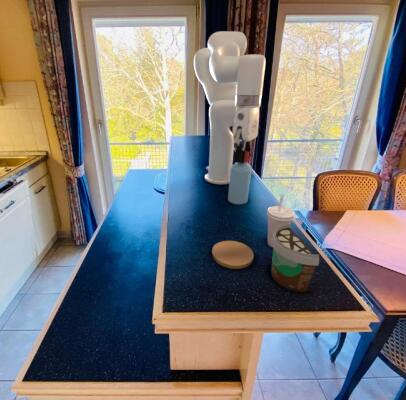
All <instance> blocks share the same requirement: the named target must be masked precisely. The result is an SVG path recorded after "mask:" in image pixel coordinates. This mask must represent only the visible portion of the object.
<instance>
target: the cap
mask: <svg viewBox="0 0 406 400" xmlns="http://www.w3.org/2000/svg"><path fill="white" fill-rule="evenodd" d="M244 151H246V150H244ZM248 159H249V151H246V153H245V162H247V163H249V160H250V159H249V160H248Z"/></svg>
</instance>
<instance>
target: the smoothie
mask: <svg viewBox="0 0 406 400" xmlns="http://www.w3.org/2000/svg"><path fill="white" fill-rule="evenodd" d="M283 199H284V195H283V194H282V195H280V197H279V204H278V205H272V206H270V207H268V208H267V211H266V214H267V245H268V246H269V247H271V248H273V247H272V244H271V238H272V236H273V234H274V232H275V231H276V230H277V228H279V227H280V226H283V225H287V224H291V223H292V221H293V220H294V219H295V212H294V211H293V210H292V208H289V207H287V206H286V207H285V206H282V205H283ZM291 225H292V224H291Z"/></svg>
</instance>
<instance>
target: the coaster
mask: <svg viewBox="0 0 406 400" xmlns="http://www.w3.org/2000/svg"><path fill="white" fill-rule="evenodd" d="M254 256H255V254H254V252H253V250H252V249H251V248H250V246H248V245H246V244H245V243H242V242H239V241H236V240H222V241H219V242H217V243H215V244H214V245H213V247H212V249H211V257H212V259H213V260H214V262H215V263H216V264H218V265H220V266H222V267H224V268H227V269H232V270H233V269H234V270H239V269H245V268H247V267H249V266H251V265H252V264H253V261H254V258H255V257H254Z"/></svg>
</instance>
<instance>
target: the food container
mask: <svg viewBox="0 0 406 400" xmlns="http://www.w3.org/2000/svg"><path fill="white" fill-rule="evenodd" d="M271 244H272V247H271V248H272V260H271V261H272V262H271V270H270V271H271V276H272V278H273V279H274V280H275V282H276V283H277V284H278V285H280V286H281V287H283V288H285V289H288V290H289V291H294V292H299V293H306V292H307V290H308V287H309V285H310V283H311V279H312V277H313V275H314V271H315V269H316V266H318V267H319V265H320V254H314V253H313V252H312V251H311V250H310V248H309V246H307V244H306V243H305V241H304V240H303V239H302V238H301V237H300V236H299V235H298V234H296V233H295V232H294V230H293V229H292V224H287V225H283V226H280V227H279V228H277V230H276V231H275V232H274V234H273V236H272V238H271Z"/></svg>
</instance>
